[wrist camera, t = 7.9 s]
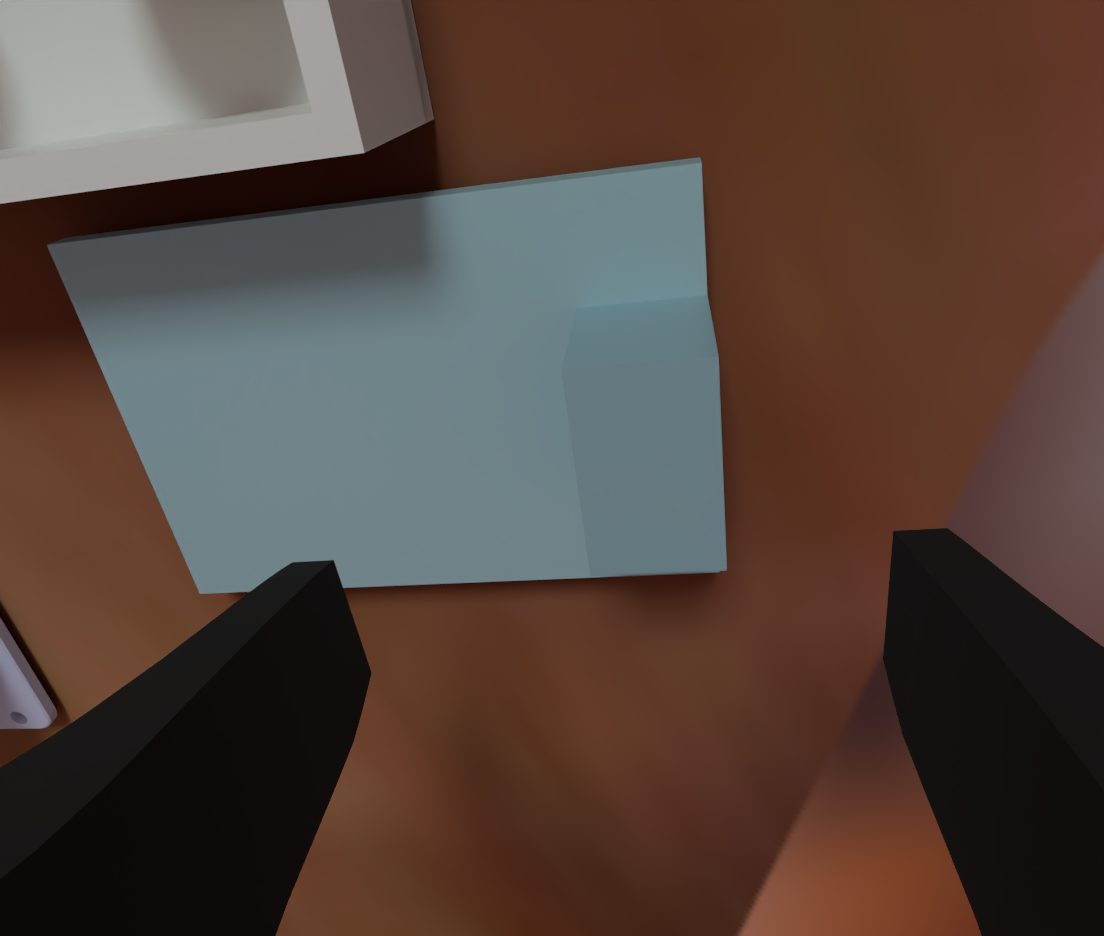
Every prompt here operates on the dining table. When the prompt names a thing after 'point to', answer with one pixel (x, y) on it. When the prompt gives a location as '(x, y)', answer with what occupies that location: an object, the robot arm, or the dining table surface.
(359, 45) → the tub
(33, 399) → the dining table surface
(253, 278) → the lid
